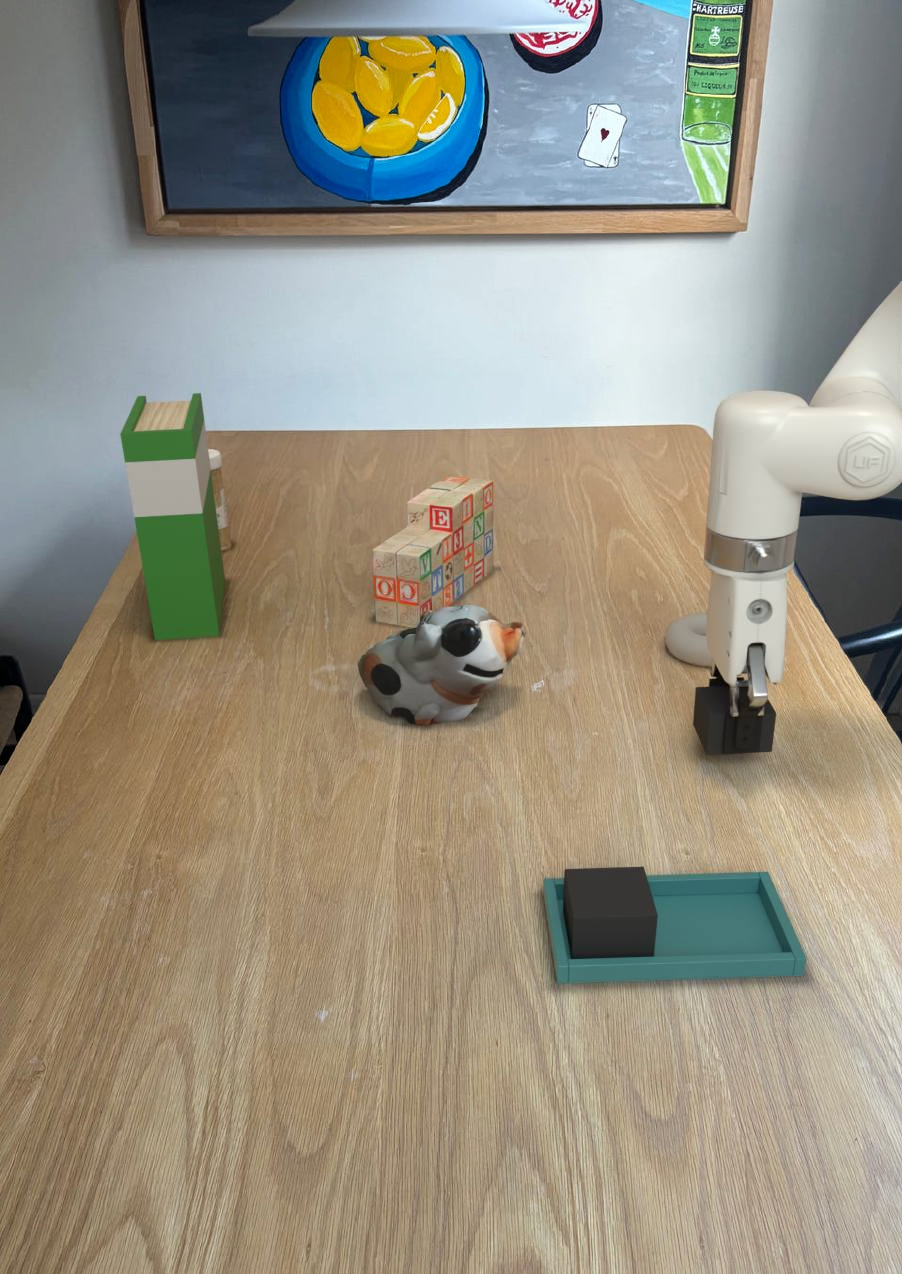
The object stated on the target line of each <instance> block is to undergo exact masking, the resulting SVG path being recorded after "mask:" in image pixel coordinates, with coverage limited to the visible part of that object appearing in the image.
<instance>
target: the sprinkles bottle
mask: <svg viewBox="0 0 902 1274" xmlns="http://www.w3.org/2000/svg"><path fill="white" fill-rule="evenodd" d="M208 452H209V460H210V468H211V475H212V483H213V491H214V499H215V506H216V514H217V522H218V530H219V537H220V545H221V552H224V551H226V550H229V549H230V548H231V547H232V542H231V539H230V531H229V520H228V519H229V518H228V511H227V503H226V495H225V487H224V482H223V477H222V476H223V474H222V473H223V472H222V466H223V464H222V463H223V462H222V456H221V452H220V451H219V450H217V449H212V448H208Z"/></svg>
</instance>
